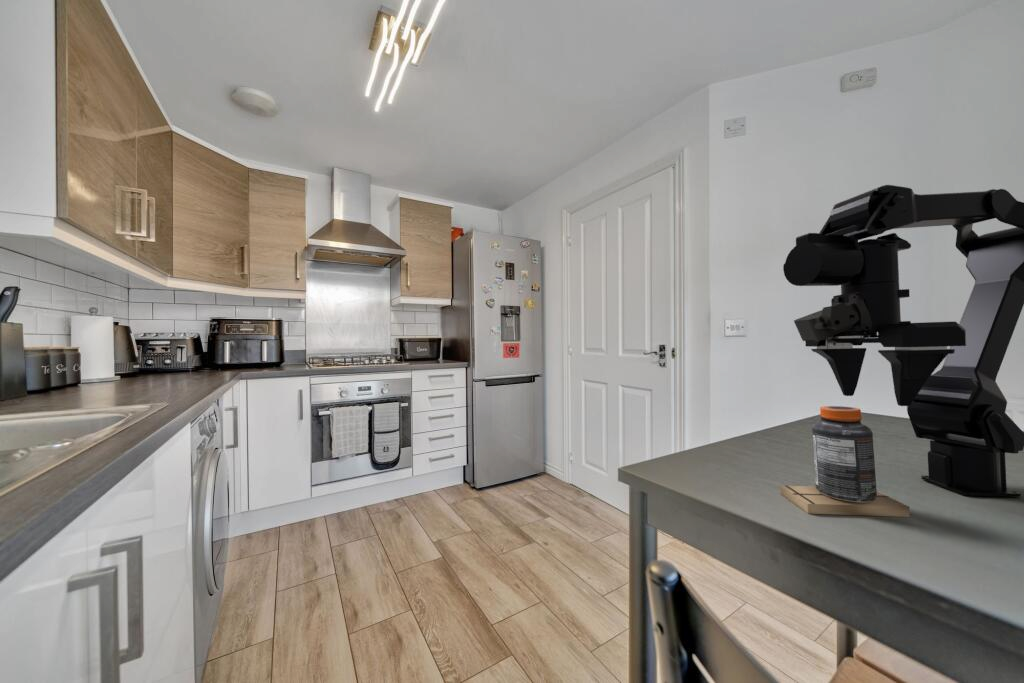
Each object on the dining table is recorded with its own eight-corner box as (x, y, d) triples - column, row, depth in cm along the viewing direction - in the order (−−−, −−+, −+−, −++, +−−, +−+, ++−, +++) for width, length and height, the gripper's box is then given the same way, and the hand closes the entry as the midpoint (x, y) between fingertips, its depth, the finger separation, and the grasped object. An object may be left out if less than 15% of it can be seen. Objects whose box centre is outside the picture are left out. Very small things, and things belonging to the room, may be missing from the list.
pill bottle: (851, 486, 51) (847, 403, 51) (891, 504, 45) (885, 410, 45) (804, 486, 52) (800, 404, 52) (837, 503, 46) (832, 411, 46)
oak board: (869, 496, 50) (869, 487, 50) (909, 516, 45) (909, 506, 45) (780, 494, 52) (780, 485, 52) (808, 513, 46) (807, 503, 46)
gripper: (767, 296, 61) (771, 392, 61) (854, 276, 43) (859, 413, 42) (844, 293, 59) (848, 391, 59) (968, 270, 41) (974, 412, 41)
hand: (873, 400), depth 51 cm, fingers open, 9 cm apart
